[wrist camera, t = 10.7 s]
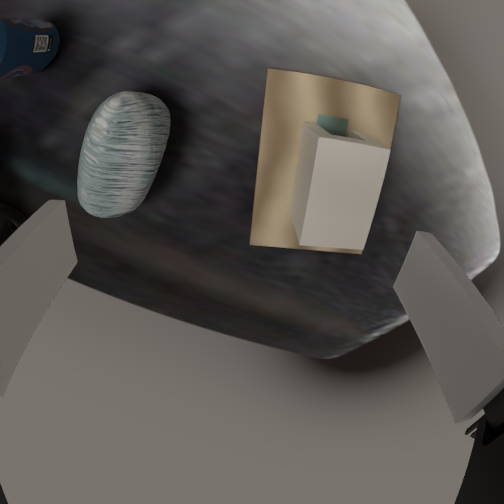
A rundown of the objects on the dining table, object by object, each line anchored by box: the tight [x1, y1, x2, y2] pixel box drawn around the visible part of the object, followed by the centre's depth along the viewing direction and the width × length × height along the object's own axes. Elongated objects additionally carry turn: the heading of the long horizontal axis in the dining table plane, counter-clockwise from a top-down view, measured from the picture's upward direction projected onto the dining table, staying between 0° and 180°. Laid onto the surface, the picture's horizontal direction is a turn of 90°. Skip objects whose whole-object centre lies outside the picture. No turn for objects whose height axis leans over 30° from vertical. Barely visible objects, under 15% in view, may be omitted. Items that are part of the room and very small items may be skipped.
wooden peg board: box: [250, 69, 401, 254], centre depth 29 cm, size 14×20×6 cm
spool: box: [77, 91, 171, 218], centre depth 27 cm, size 14×10×10 cm
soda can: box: [0, 19, 60, 80], centre depth 17 cm, size 7×7×12 cm
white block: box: [290, 122, 391, 250], centre depth 28 cm, size 6×10×7 cm, turn 175°
